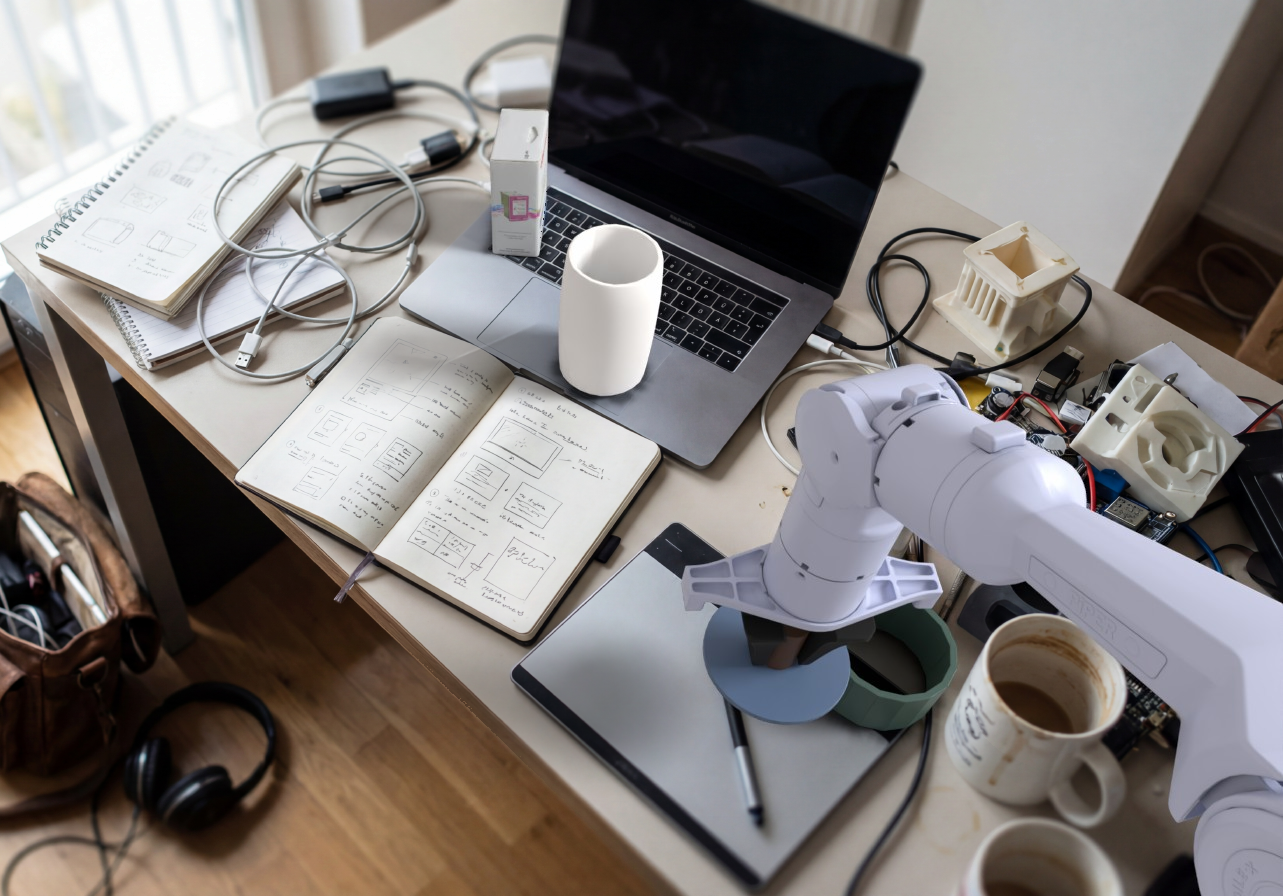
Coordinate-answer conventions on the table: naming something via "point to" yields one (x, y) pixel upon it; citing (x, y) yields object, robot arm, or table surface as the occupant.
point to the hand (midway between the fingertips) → (778, 651)
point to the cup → (608, 308)
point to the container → (935, 656)
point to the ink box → (519, 181)
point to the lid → (772, 673)
